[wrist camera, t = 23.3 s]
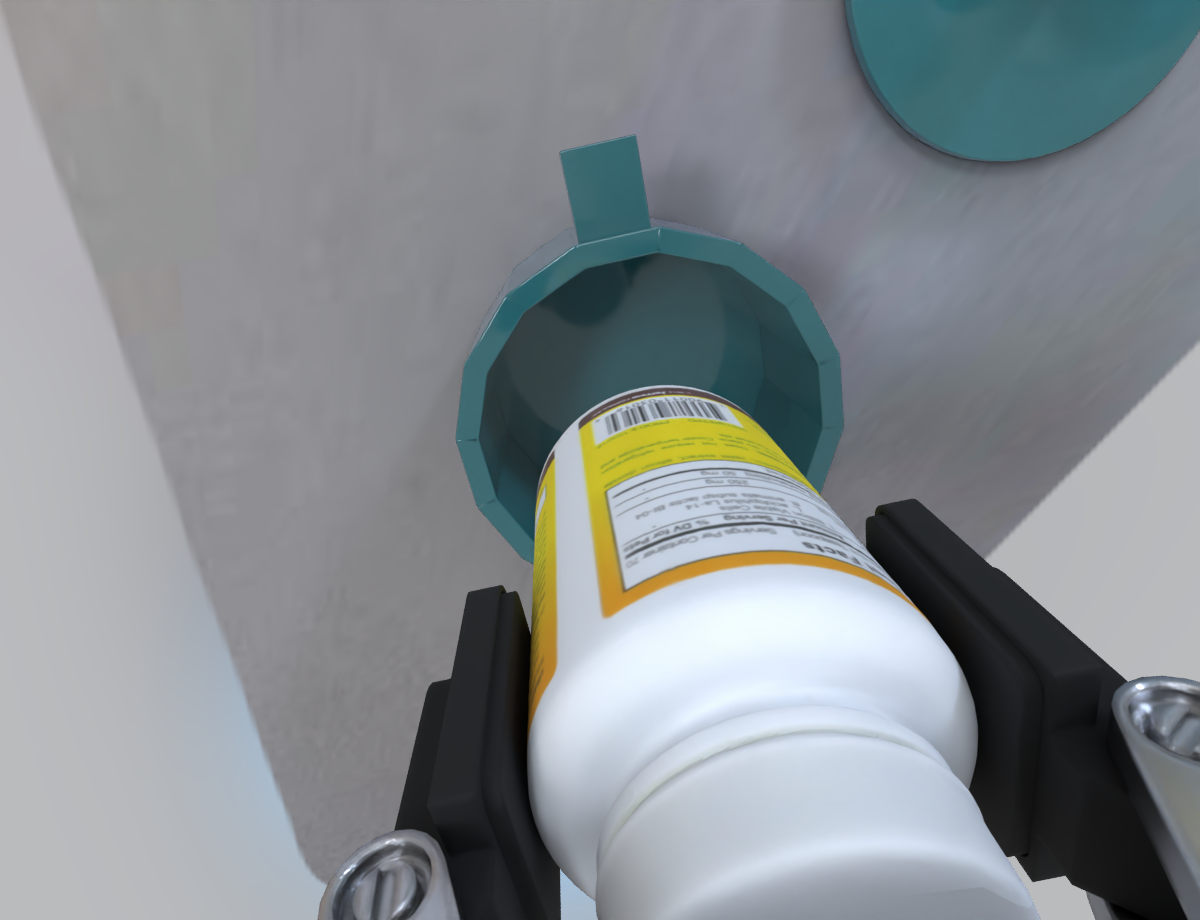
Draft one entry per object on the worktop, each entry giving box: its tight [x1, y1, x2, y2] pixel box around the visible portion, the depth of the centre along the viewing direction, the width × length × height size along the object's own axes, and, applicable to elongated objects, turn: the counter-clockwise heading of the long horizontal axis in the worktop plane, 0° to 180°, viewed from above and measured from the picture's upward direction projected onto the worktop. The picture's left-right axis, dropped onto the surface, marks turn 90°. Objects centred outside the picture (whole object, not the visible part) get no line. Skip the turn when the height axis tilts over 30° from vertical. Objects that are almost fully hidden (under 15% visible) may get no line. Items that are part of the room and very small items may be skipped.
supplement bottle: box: [527, 385, 1040, 920], centre depth 11 cm, size 6×6×10 cm
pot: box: [456, 135, 844, 564], centre depth 27 cm, size 14×19×8 cm
